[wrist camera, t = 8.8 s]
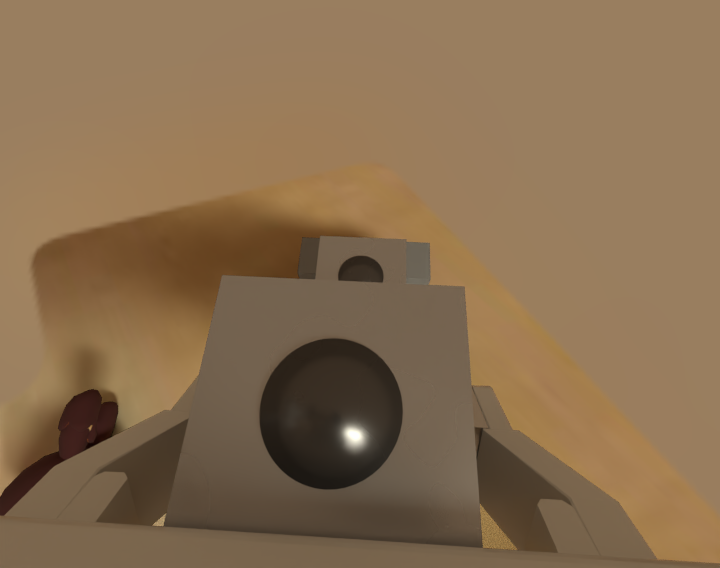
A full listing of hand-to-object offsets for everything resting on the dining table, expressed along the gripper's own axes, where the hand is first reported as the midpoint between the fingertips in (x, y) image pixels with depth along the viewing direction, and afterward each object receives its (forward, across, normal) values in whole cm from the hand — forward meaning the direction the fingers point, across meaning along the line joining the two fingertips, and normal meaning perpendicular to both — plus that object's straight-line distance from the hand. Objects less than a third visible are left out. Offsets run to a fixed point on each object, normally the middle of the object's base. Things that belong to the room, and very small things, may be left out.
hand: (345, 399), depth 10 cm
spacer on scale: (+16, 0, +7) cm, 17 cm away
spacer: (+4, 0, +5) cm, 6 cm away
